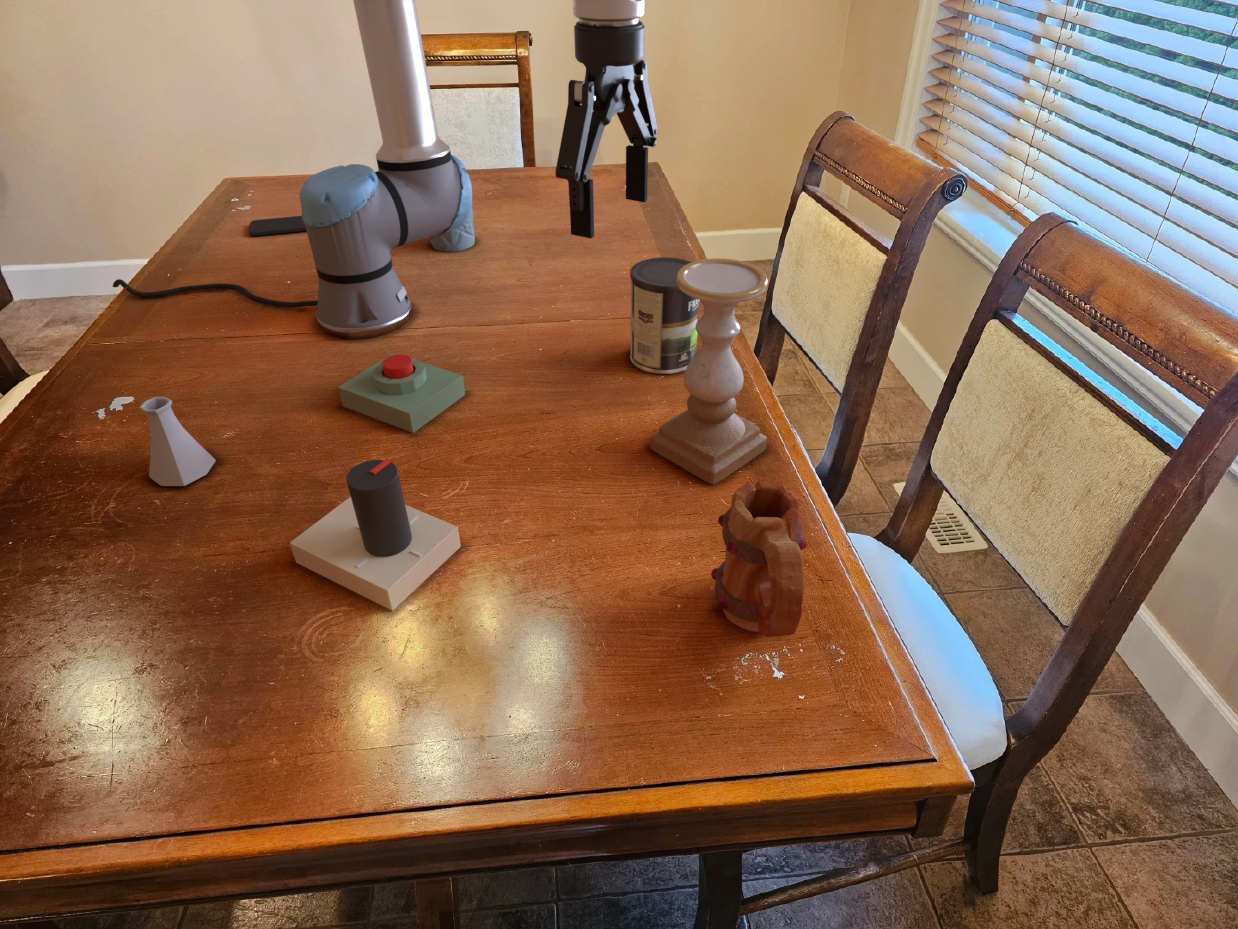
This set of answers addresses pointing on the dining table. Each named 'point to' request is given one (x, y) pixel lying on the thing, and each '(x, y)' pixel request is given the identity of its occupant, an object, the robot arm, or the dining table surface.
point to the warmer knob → (379, 507)
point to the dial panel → (380, 579)
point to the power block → (402, 394)
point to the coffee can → (661, 317)
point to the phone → (276, 225)
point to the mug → (762, 560)
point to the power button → (397, 366)
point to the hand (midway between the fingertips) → (610, 217)
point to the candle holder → (714, 376)
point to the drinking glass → (456, 237)
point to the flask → (173, 447)
